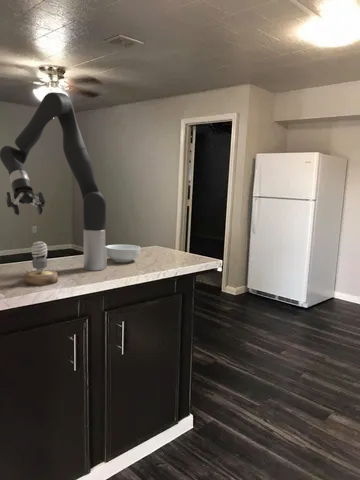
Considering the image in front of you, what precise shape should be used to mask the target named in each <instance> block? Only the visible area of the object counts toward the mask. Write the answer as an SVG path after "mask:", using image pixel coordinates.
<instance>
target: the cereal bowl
mask: <svg viewBox="0 0 360 480" xmlns="http://www.w3.org/2000/svg"><path fill="white" fill-rule="evenodd" d="M105 246H106V247H107V258H109V259H110V260H113V261H114V262H116V263H131V262H132V261H134V260H135V259H137V258H139V256H140V254H141V246H139V245H134V244H108V245H105Z"/></svg>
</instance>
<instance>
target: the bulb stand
mask: <svg viewBox="0 0 360 480" xmlns="http://www.w3.org/2000/svg"><path fill="white" fill-rule="evenodd" d="M22 277H23V284H24V285H25V286H30V287H31V286H33V287H42V286H43V287H44V286H51V285H54V284H57V283H58V272H57V271H54V270H44V271H43V272H42V273H38V272H37V270H32V271H28V272H27V271H26V272H25V273H24V274H23V276H22Z"/></svg>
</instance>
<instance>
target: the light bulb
mask: <svg viewBox="0 0 360 480" xmlns="http://www.w3.org/2000/svg"><path fill="white" fill-rule="evenodd" d="M30 251H31V254H32V255H31V256H32V258H33V259H32V260H31V264H32V267H33V268H34V269H36V271H37V272H38V273H42V272H43V271H44V269H46V268H47V267H48V258H47V257H48V244H46V243H45V242H44V241H35V242H33V243H32V245H31V250H30ZM43 256H44V257H43Z"/></svg>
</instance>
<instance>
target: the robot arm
mask: <svg viewBox="0 0 360 480" xmlns="http://www.w3.org/2000/svg"><path fill="white" fill-rule="evenodd" d="M56 117H57V119H58V121H59V124H60V126H61V130H62V147H63V149H62V150H63V153H64V156H65V160H66V161H67V164H68V166H69V168H70V171H71V172H72V174H73V177H74V178H75V180H76V182H77V184H78V187H79V190H80V193H81V197H82V201H83V203H82V204H83V207H82V208H83V209H82V210H83V212H82V213H83V214H82V215H83V217H82V218H83V270H87V271H102V270H105V269H106V268H107V267H108V266H107V265H108V262H107V261H108V260H107V259H108V256H107V247H106V246H107V245H106V224H107V223H106V222H107V220H106V219H107V218H106V217H107V202H106V201H107V200H106V198H105V197H104V196H103V193H101V190H100V188H99V185H98V184H97V181H96V178H95V176H94V170H93V165H92V161H91V157H90V154H89V152H88V149H87V147H86V144H85V142H84V139H83V136H82V133H81V130H80V126H79V125H78V121H77V118H76V117H77V116H76V114H75V110H74V106H73V102H72V100H71V98H70V97H69V95H67V94H66V93H63V92H54V91H53V92H52V91H51V92H48V93H46V94H45V96H43V98H42V100H41V102H40V103H39V106H38V107H37V109H36V111H35V113H34V114H33V116H32V117H31V119H30V121H29V122H28V123H27V124H26V126H25V128H23V130H22V131H21V132H20V133H19V134H18V136H17V137H16V138H15V140H14V144H15V146H16V147H17V148H18V149H17V148H15V147H13V146H10V145H4V146H3V147H1V149H0V161H1V162H2V164H3V166H4V167H5V169H6V170H7V171H8V174H9V181H10V186H11V188H12V192H13V193H11V192H9V191H7V192H6V195H5V200H6V207H7V208H12V209H13V213H14V214H15V215H16V216H19V215H20V210H19V209H20V208H19V205H20V204H27V205H28V204H29V205H31V206H35V207H36V209H37V213H38V215H39V216H40V215H42V214H43V211H44V210H43V208H44V207H45V204H46V201H45V198H44V196H43V195H44V194H43V193H42V192H40V191H39V192H38V193H35V192H34V190H33V187H32V183H31V179H30V178H29V175H28V171H27V169H26V166H25V163H26V161H27V159H28V155H29V154H30V151H31V149H33V148H34V146H35V145H36V144H37V143H38V141H39V140H40V138H41V137H42V134H43V131H44V129H45V127H46V125H47V124H48V123H49V122H51V120H53V119H54V118H56ZM12 199H15V201H14V202H12Z"/></svg>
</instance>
